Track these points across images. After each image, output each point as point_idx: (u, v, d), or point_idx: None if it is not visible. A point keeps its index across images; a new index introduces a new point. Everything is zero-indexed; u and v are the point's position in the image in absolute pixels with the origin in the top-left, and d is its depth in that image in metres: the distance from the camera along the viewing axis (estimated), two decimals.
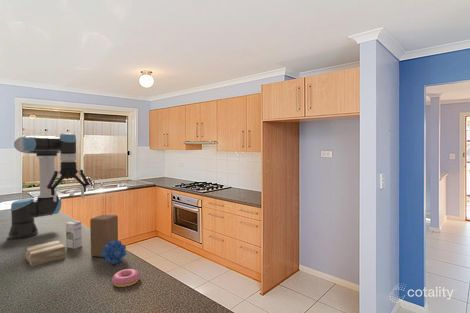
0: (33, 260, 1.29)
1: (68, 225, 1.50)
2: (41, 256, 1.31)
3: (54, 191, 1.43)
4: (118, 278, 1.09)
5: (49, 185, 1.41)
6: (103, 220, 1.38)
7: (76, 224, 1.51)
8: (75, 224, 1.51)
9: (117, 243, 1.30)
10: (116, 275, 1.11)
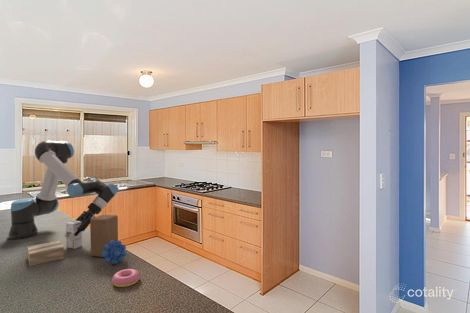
0: (31, 260, 1.29)
1: (68, 225, 1.50)
2: (39, 257, 1.31)
3: (78, 233, 1.51)
4: (118, 278, 1.09)
5: (85, 228, 1.51)
6: (103, 220, 1.38)
7: (76, 223, 1.51)
8: (75, 224, 1.51)
9: (117, 243, 1.30)
10: (116, 275, 1.11)
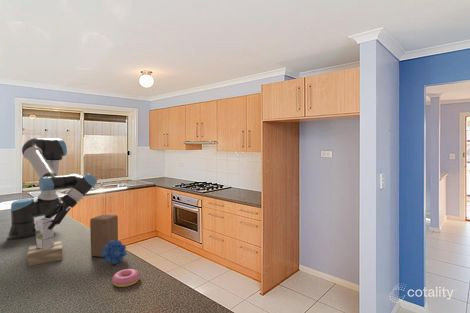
0: (29, 260, 1.29)
1: (37, 223, 1.35)
2: (38, 257, 1.31)
3: None
4: (118, 278, 1.09)
5: (60, 221, 1.35)
6: (103, 220, 1.38)
7: (46, 221, 1.36)
8: (45, 222, 1.35)
9: (117, 243, 1.30)
10: (116, 275, 1.11)
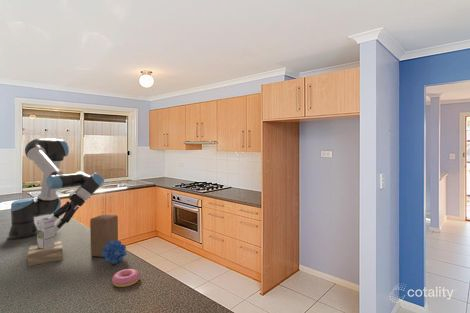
0: (29, 260, 1.29)
1: (38, 223, 1.35)
2: (38, 257, 1.31)
3: (62, 224, 1.37)
4: (118, 278, 1.09)
5: (69, 220, 1.37)
6: (103, 220, 1.38)
7: (48, 221, 1.36)
8: (46, 222, 1.35)
9: (117, 243, 1.30)
10: (116, 275, 1.11)
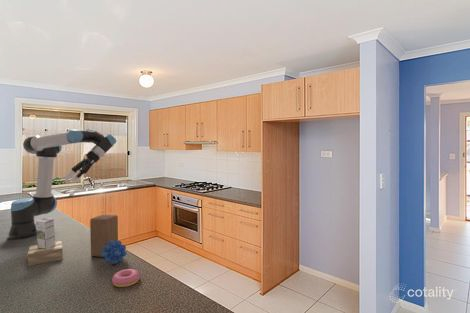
0: (29, 260, 1.29)
1: (38, 223, 1.35)
2: (38, 257, 1.31)
3: (81, 175, 1.55)
4: (118, 278, 1.09)
5: (87, 171, 1.55)
6: (103, 220, 1.38)
7: (48, 221, 1.36)
8: (47, 222, 1.35)
9: (117, 243, 1.30)
10: (116, 275, 1.11)
